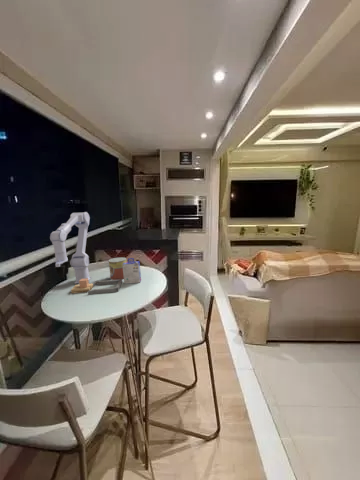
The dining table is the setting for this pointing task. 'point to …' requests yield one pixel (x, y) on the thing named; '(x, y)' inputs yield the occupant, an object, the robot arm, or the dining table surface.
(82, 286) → the salmon pink cube
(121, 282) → the dock
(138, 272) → the ink cartridge box
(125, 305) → the dining table surface
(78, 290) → the pallet
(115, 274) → the canned food
